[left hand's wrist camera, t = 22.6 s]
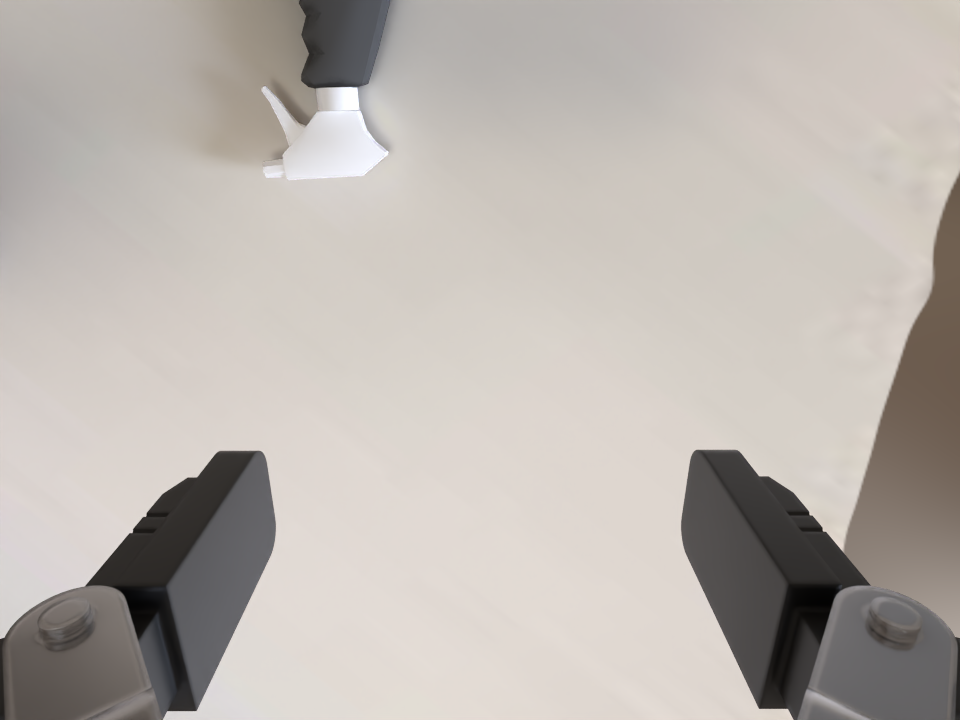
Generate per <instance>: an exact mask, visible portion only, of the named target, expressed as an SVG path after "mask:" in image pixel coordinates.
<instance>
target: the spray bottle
mask: <svg viewBox="0 0 960 720" xmlns="http://www.w3.org/2000/svg"><path fill="white" fill-rule="evenodd" d="M389 3H390V0H300V1H299V4H300V6H301V8H302V10H303V11H304V13H305V15H306V19H305V23H304V27H303V31H302V37H303V40H304V42H305V45H306V47H307V49H308V52H309V56H308V58H307V61H306V63H305V66H304V69H303V71H302V74H301V81H302V82H303V83H305V84H306V85H307V86H308V87H311V88H315V89H316V96H317V104H318V111H322V112H316V114H315V115H314V117H313V118H312V119H311V121H310V122H309V123H308V125H307V126H306V125H303V124H301V123H299V122H297V120H296V119H295V118H294V117H293V116H292V114H291V113H290V112H289V111H288V109H287V108H286V107H285V106H284V105H283V103H282V102H281V101H280V100H279V99H278V98H277V97H276V96H275V95H274V94H273V93H272V91H271V90H270V89H269V88H268V87H267V86H264V87H263V88H262V89H261V90H262V92H263V93H264V95H265V96H266V98H267V99H268V100H269V102H270V104H271V106H272V108H273V109H274V111H275V113H276V115H277V117H278V119H279V121H280V123H281V125H282V127H283V129H284V132H285V135H286V139H287V142H288V145H289V146H290V147H289V148H288V149H287V150H286V151H285V152H284V154H283V159H277V160H271V161H264V162H263V171H264V174H265V176H266V178H276V177H287V180H298V179H315V178H332V177H349V176H362V175H365V174H366V173H367V172H368V171H369V170H370V169H372V168H373V167H374V166H375V165H376V164H377V163H378V162H380V161H381V160H382V159H383V158H384V157H385V156H386V155H388V151H387V150H386V149H385V148H383V147H382V146H381V145H380V144H378V143H377V142H376V141H375V140H374V139H373V137H372V136H371V135H370V133H369V132H368V130H367V128H366V125H365V122H364V119H363V116H362V113H361V111H346V110H359V102H358V90H357V87H360V86H363V85H366V84H368V83H369V79H370V76H371V72H372V69H373V66H374V62H375V59H376V55H377V52H378V48H379V45H380V41H381V37H382V33H383V28H384V24H385V20H386V16H387V12H388V8H389Z"/></svg>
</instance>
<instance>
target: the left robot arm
mask: <svg viewBox="0 0 960 720" xmlns="http://www.w3.org/2000/svg"><path fill="white" fill-rule="evenodd" d="M681 532H682V541H683V546H684V549H685V552H686V555H687V557H688V559H689V561H690V563H691V565H692V568H693V570H694V572H695V574H696V576H697V578H698V580H699V582H700V585H701V587H702V589H703V591H704V593H705V595H706V597H707V599H708V601H709V604H710V606H711V608H712V610H713V612H714V614H715V616H716V618H717V621H718V623H719V625H720V627H721V629H722V631H723V633H724V635H725V638H726V640H727V642H728V644H729V646H730V648H731V650H732V652H733V654H734V657H735V659H736V661H737V663H738V665H739V667H740V669H741V671H742V674H743V676H744V678H745V680H746V682H747V684H748V686H749V688H750V691H751V693H752V695H753V697H754V699H755V701H756V703H757V705H758V708H759V709H788V710H789V712H790V714H791V715H792V717H793V719H794V720H960V638H957V637H955V636H954V634H953V633H952V631H951V629H950V628H949V627H948V626H947V624H946V623H945V622H944V621H943V620H942V619H941V618H940V617H939V616H937V615H936V614H935V613H934V612H932V611H931V610H930V609H928V608H927V607H925V606H924V605H922V604H921V603H919V602H917V601H915V600H913V599H911V598H909V597H907V596H905V595H902V594H900V593H897V592H894V591H891V590H888V589H884V588H880V587H874V586H871V585H870V584H869V583H868V582H867V580H866V579H865V578H864V577H863V576H862V574H861V573H860V572H859V571H858V570H857V568H856V567H855V566H854V565H853V564H852V563H851V561H850V560H849V559H848V558H847V556H846V555H845V554H844V553H843V552H842V550H841V549H840V548H839V547H838V546H837V544H836V543H835V542H834V541H833V540H832V538H831V537H830V536H829V535H828V534H827V532H823V530H822V527H821V525H820V524H819V523H818V522H817V521H816V519H815V518H814V517H813V516H810V515H809V511H808V510H807V509H806V507H805V506H804V505H803V504H802V503H801V501H800V500H799V499H798V498H797V497H796V495H795V494H794V493H793V492H791V491H790V490H788V489H787V488H785V487H784V486H782V485H781V484H779V483H778V482H776V481H775V480H773V479H771V478H770V477H759V476H758V475H757V473H756V472H755V471H754V469H753V468H752V467H751V466H750V464H749V463H748V462H747V460H746V459H745V458H744V456H743V455H742V454H741V453H740V452H739V451H738V450H695V451H694V452H693V454H692V456H691V460H690V466H689V472H688V479H687V486H686V493H685V499H684V506H683V513H682V521H681ZM275 533H276V522H275V515H274V508H273V501H272V495H271V488H270V481H269V475H268V468H267V462H266V458H265V456H264V454H263V452H261V451H219V452H217V453H216V454H215V456H214V457H213V458H212V459H211V461H210V462H209V463H208V464H207V466H206V467H205V468H204V470H203V471H202V472H201V473H200V475H199V476H198V477H197V478H187V479H185V480H184V481H182V482H180V483H179V484H177V485H176V486H174V487H173V488H171V489H170V490H168V491H167V492H165V493H164V494H162V495H161V497H160V498H159V499H158V500H157V501H156V503H155V504H154V505H153V506H152V507H151V509H150V510H149V511H148V512H147V516H146V517H143V518H142V519H141V520H140V522H139V523H138V524H137V525H136V526H135V528H134V529H133V533H130V534H129V535H128V536H127V537H126V538H125V539H124V541H123V542H122V543H121V544H120V545H119V547H118V548H117V549H116V550H115V551H114V553H113V554H112V555H111V556H110V557H109V558H108V560H107V561H106V562H105V563H104V564H103V566H102V567H101V568H100V569H99V570H98V572H97V573H96V574H95V575H94V576H93V577H92V579H91V580H90V581H89V582H88V583H87V585H86V586H85V587H80V588H76V589H72V590H69V591H66V592H62V593H60V594H58V595H55V596H53V597H51V598H49V599H47V600H45V601H43V602H41V603H39V604H38V605H36V606H35V607H33V608H32V609H30V610H29V611H28V612H26V613H25V614H24V615H23V616H21V617H20V618H19V619H18V620H17V621H16V622H15V623H14V624H13V626H12V627H11V628H10V629H9V631H8V633H7V634H6V636H5V638H2V639H0V720H163V718H164V716H165V714H166V712H167V711H197V709H198V707H199V705H200V702H201V700H202V698H203V696H204V694H205V692H206V690H207V688H208V686H209V684H210V681H211V679H212V677H213V675H214V673H215V671H216V669H217V667H218V665H219V663H220V661H221V658H222V656H223V654H224V652H225V650H226V648H227V646H228V644H229V642H230V640H231V638H232V635H233V633H234V631H235V629H236V627H237V625H238V623H239V621H240V619H241V617H242V614H243V612H244V610H245V608H246V606H247V604H248V602H249V600H250V598H251V596H252V594H253V591H254V589H255V587H256V585H257V583H258V581H259V579H260V577H261V575H262V573H263V570H264V568H265V566H266V564H267V562H268V560H269V558H270V556H271V553H272V550H273V546H274V541H275Z"/></svg>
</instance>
